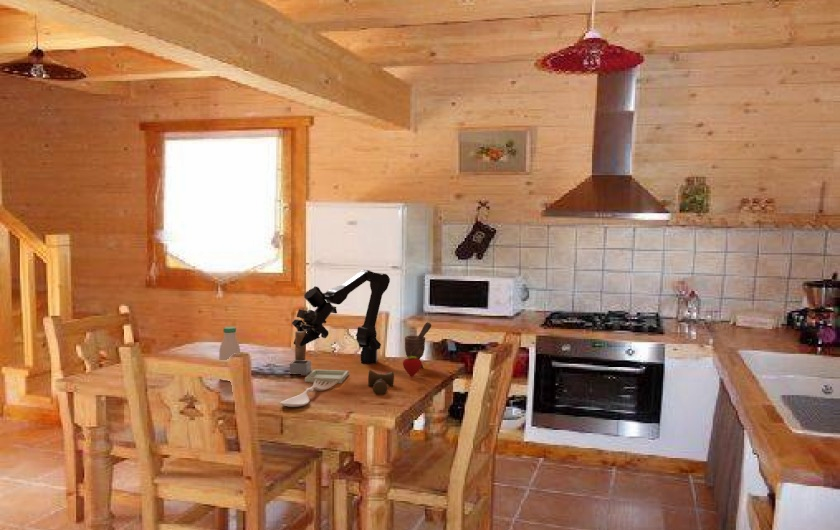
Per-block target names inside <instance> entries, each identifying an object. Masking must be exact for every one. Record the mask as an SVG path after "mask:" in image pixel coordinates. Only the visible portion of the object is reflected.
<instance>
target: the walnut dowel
mask: <svg viewBox="0 0 840 530" xmlns="http://www.w3.org/2000/svg"><path fill="white" fill-rule="evenodd" d="M306 333H307V332H305V331H294V334H295V337H294V340H295V344H294V346H295V347H294V349H295V350H294V352H295V353H294V355H295V356H294V358H295V359H294V360H306V345H307V344H305V345H304V346H300V343H301V341H302V340H303V338H304V337H305V335H306Z"/></svg>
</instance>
